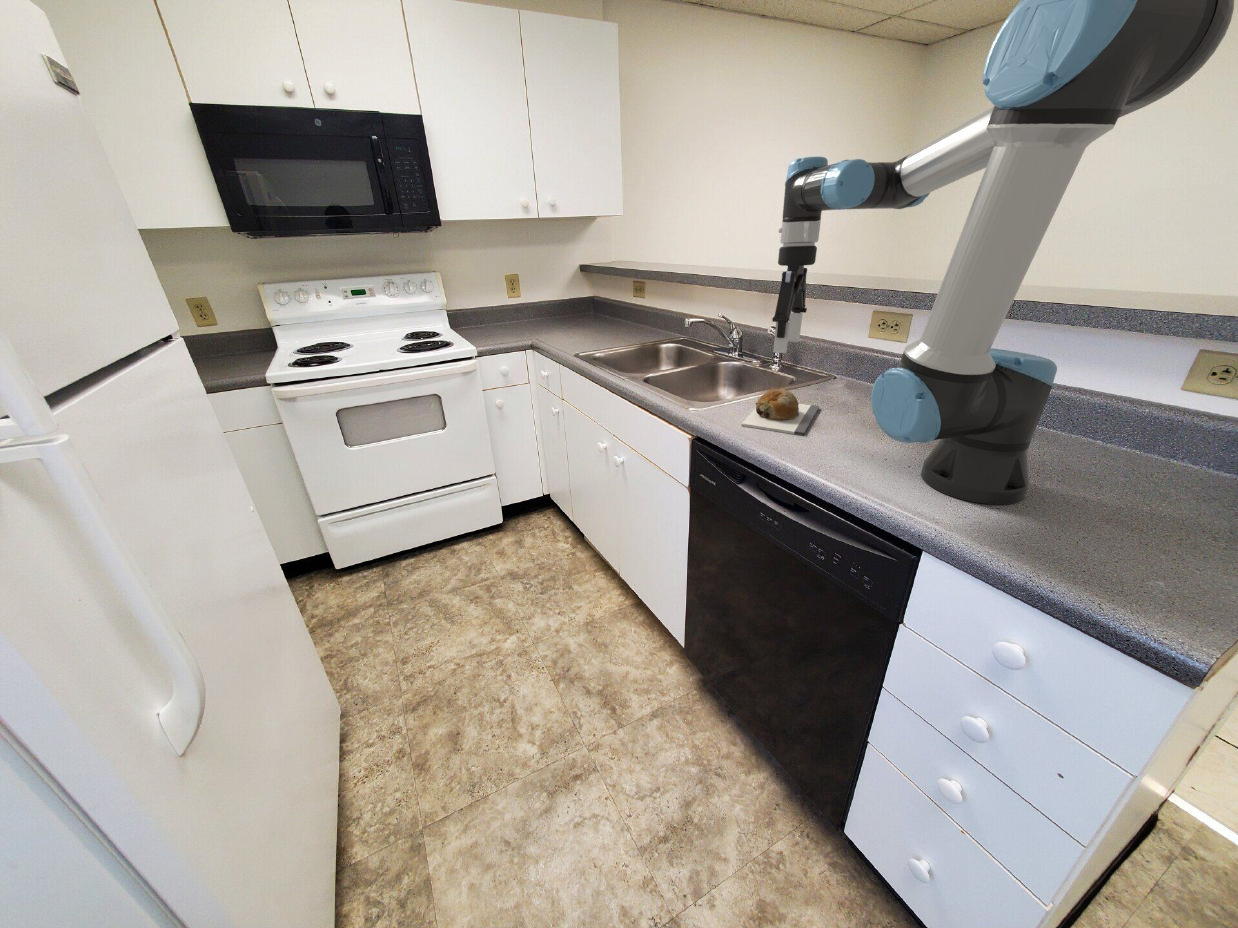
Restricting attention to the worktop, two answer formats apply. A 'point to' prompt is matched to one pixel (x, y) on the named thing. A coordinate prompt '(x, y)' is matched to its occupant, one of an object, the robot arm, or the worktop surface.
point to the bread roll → (777, 405)
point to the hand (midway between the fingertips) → (786, 346)
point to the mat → (784, 421)
